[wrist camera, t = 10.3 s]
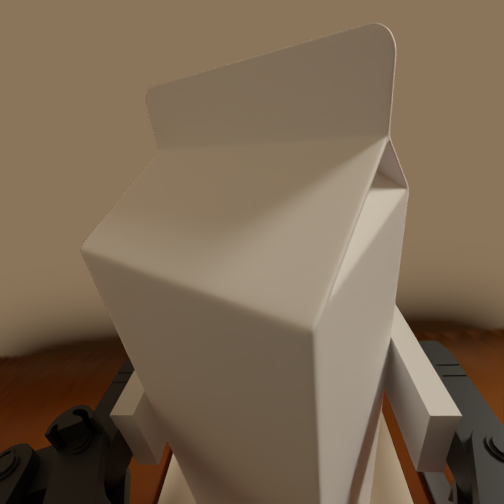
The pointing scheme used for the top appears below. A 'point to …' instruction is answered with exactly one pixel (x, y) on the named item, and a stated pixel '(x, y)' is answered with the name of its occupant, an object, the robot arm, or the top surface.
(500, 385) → the top surface
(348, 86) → the milk
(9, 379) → the top surface
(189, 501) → the mat
